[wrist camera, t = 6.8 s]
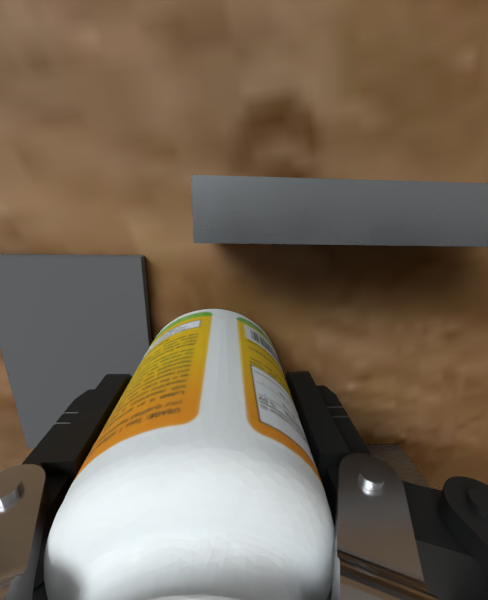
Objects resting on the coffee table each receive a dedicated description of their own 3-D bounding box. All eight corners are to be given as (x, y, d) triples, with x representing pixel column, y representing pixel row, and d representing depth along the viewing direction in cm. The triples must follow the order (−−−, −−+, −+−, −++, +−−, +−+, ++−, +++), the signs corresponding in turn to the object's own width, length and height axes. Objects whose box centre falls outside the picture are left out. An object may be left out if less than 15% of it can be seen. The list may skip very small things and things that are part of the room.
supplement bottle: (141, 408, 12) (-127, 1027, 3) (157, 293, 11) (-299, 829, 1) (260, 425, 13) (345, 972, 4) (291, 318, 11) (577, 800, 2)
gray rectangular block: (144, 255, 11) (140, 257, 11) (160, 436, 14) (158, 444, 13) (-15, 253, 11) (-26, 255, 10) (34, 439, 13) (27, 448, 13)
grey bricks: (456, 196, 11) (601, 186, 7) (393, 465, 15) (457, 564, 11) (205, 189, 10) (191, 175, 6) (211, 472, 15) (205, 579, 10)
